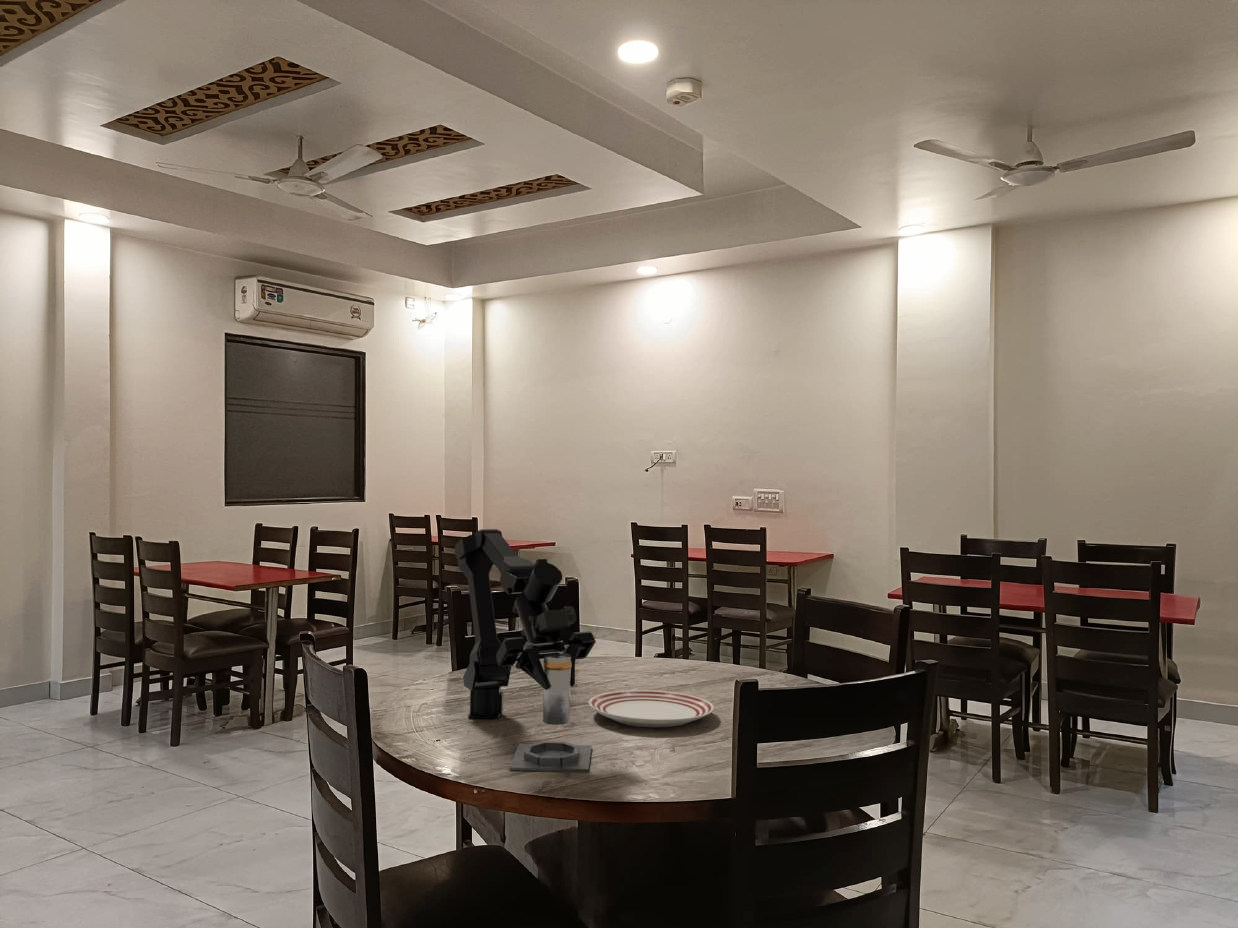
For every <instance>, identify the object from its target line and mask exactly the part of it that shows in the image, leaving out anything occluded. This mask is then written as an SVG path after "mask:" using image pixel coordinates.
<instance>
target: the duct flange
mask: <svg viewBox="0 0 1238 928" xmlns="http://www.w3.org/2000/svg"><path fill="white" fill-rule="evenodd" d="M592 747H593V746H592V745H591V744H589V745H587V744H585V745H583V744H582V745H581V744H573V743H571V742H567V741H553V740H552V741H547V740H546V741H545V740H544V741H540V742H535V743H519V744H518V746H517V748H516V749H515V753H514V756H513V758H512V761H511V762H510V765H509V767H508V769H509V770H508V771H521V772H523V771H527V772H529V771H531V772H532V771H533V772H534V771H535V772H568V773H569V772H571V773H572V772H573V773H574V772H575V773H578V772H579V773H588V772H589V769H590V762H591V755H592Z"/></svg>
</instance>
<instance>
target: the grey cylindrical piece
mask: <svg viewBox="0 0 1238 928" xmlns="http://www.w3.org/2000/svg"><path fill="white" fill-rule="evenodd" d="M571 666H572V660H571V655H568V654H560V653H559V652H556V653H546V654H544V655H543V665H542V667H543V670H544V672H545V675H546V677H547V681H548V685H549V688H548V689H547V690H545V689H544V688H542V689H543V692H542V695H543V698H542V705H543V706H542V722H543V723H544V724H547V725H553V726H554V725H555V726H560V725H567V724H569V723H570V722H571V719H570V718H571Z"/></svg>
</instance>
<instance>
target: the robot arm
mask: <svg viewBox="0 0 1238 928" xmlns="http://www.w3.org/2000/svg"><path fill="white" fill-rule="evenodd" d="M454 555H455V559H457V560H456V561H457V564H458V569H459V570H460V571H461V573H463V575H464V576H465V578H467V582H468V583H467V585H468V593H469V600H470V601H469V602H470V609H471V617H472V624H473V632H474V633H473V635H474V640H475V641H474V643H475V644H474V646H473V647H472V650H471V652H470V654H469V664H468V666H467V668H466V670H465V672H464V673H463V678H462V679H463V687H465V688H467V689H469V690H470V693H469V695H470V696H469V700H470V701H469V713H468V716H467V718H468V719H499V717H500V716H501V715H502V714H503V712H504V696H505V695H504V692H503V691H502V687H508V686H509V682H510V677H511V670H512V667H513V666H514V665H515V669H517V670H519V669H520V670H522V671H523V672H524V673H525V674H526V675H528V676H530V678H532V679H533V680H534V681H535V682H536V683H537V684H538V685H539V686H540V687H542V689H545V690H547V689H548V688H549V685H548V681H547V677H546V675H545V672H544V667H543V665H542V662H541V659H540V655H543V654H544V655H547V654H555V653H560V654H568V655H571V660H572V666H571V687H574V686H575V685H576V660H583V659H586V658H587V657H588V656H589V654H590V652H591V651H592V649H593V647H594V646H595V644H596V642H597V641H596V638H595V635H594V634H593V633H592V631H589V630H588V631H577V632H572V634H571V635H570V637H569V639H568V640H561V639H560V638H561V637H563V635H564V634H565V632H564V629H566V628H569V627H570V625H571V626H572V625H573V624H575V623H576V621H577V613H576V611H575V608H574V607H573V606H571V605H570V606H564V607H563V608H560V609H550V610H549V609H548V606H547V604H546V603H549V602H550V601H551V600H552V599H553V597H554V596H555V593H556V591H557V589H558V587H559V586H560V585H561V582H562V580H563V573H562V571H561V570H560V569H559V568H558V567H557V566H556V565H554V564H552V563H549V562H548V560H547V558H537V559H536V561H535V563H534V562H533V561H532V560H529V559H526V558H523V557H520V556H519V555H518V553H517V552H516V551H515V550H514V549H513V548H512V546H511V545H510V544H509V543H508V541H507V540H505V537H503V533H502V531H501V530H499V529H498V528H487V529H485V528H484V529H479V530H477V531H476V532H475V533H473V534H469V535H467V536H464V537H462V538H460V540H459V541H457V542H456V544H455V546H454ZM493 566H495V567H496V568H497V569H498V571H499V573H500V577H499V583H500V584H501V587H502V589H503V591H504V592H505V593H506V594H507V595H513V594H514V595H515V594H516V595H517V594H518V595H517V596H516V599H515V600H514V605H513V606H512V613H514V614H518V618H519V621H520V623H521V626H522V628H521V631H520V633H521V635H522V636H519V637H517V636H516V637H508V638H507V637H504V639H503V641H502V642H501V641H500V640H499V639H498V633H497V626H496V619H495V610H494V602H493V596H492V587H491V580H490V573H491V571H492V569H493ZM525 636H526V639H525ZM526 640H527V641H526Z"/></svg>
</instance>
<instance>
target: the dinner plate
mask: <svg viewBox="0 0 1238 928" xmlns="http://www.w3.org/2000/svg"><path fill="white" fill-rule="evenodd" d="M588 705H589V706H590V709H592V710H593V711H595V712H596V713H598V714H600V715H601V716H603V717H605V718H607V719H611V720H613V721H614V722H617V723H620V724H622V725H623V724H624V725H627V726H632V727H642V728H669V727H671V728H673V727H678V726H683V725H686V724H689V723H691V722H695V721H697V720H700V719H701V718H704V717H706V716H708V715H710V714H712V712H714V710H715V707H714V705H713V704H712V703H711V702H710V701H708V700H707V699H704V698H701V697H698V696H694V695H691V694H685V693H680V692H675V691H673V692H672V691H663V690H651V689H650V690H649V689H629V690H628V689H626V690H617V691H610V692H604V693H600V694H597V695H594V696H593V697H591V698H590V699H589V701H588Z"/></svg>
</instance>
